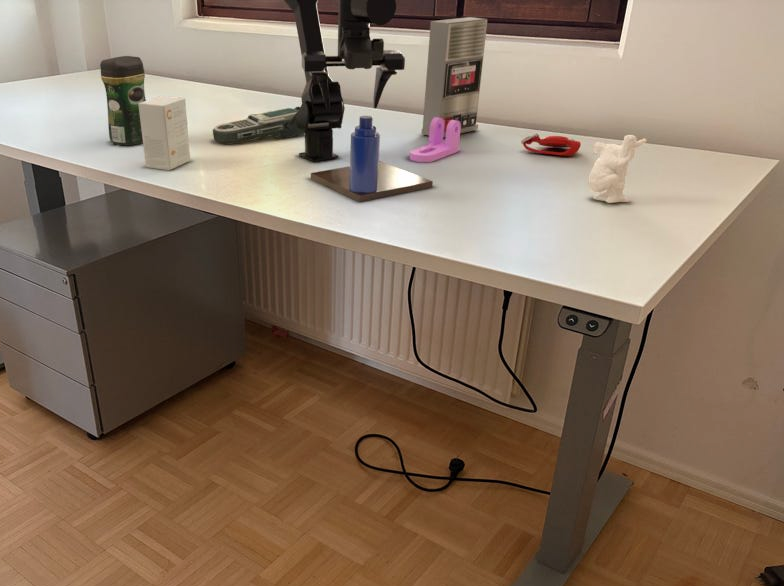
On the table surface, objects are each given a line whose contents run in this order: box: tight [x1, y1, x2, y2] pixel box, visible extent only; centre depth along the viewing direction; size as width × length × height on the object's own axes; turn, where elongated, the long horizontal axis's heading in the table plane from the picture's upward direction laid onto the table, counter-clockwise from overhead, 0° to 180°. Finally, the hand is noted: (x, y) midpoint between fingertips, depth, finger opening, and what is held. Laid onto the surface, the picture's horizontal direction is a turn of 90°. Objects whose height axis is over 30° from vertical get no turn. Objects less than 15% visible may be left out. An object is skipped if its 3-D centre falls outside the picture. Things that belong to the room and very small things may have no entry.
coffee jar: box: [99, 55, 147, 146], centre depth 169 cm, size 10×8×19 cm
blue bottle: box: [349, 115, 381, 193], centre depth 134 cm, size 5×5×13 cm
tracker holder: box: [520, 133, 582, 157], centre depth 163 cm, size 12×4×10 cm
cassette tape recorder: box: [420, 16, 489, 138], centre depth 174 cm, size 14×6×25 cm, turn 129°
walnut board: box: [310, 160, 434, 203], centre depth 145 cm, size 17×17×1 cm
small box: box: [138, 95, 191, 171], centre depth 154 cm, size 8×6×13 cm
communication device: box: [212, 106, 305, 145], centre depth 176 cm, size 12×24×9 cm, turn 117°
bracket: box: [409, 117, 461, 163], centre depth 161 cm, size 13×6×7 cm, turn 139°
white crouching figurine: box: [588, 134, 647, 204], centre depth 132 cm, size 8×7×12 cm
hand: (351, 108), depth 143 cm, fingers open, 9 cm apart
